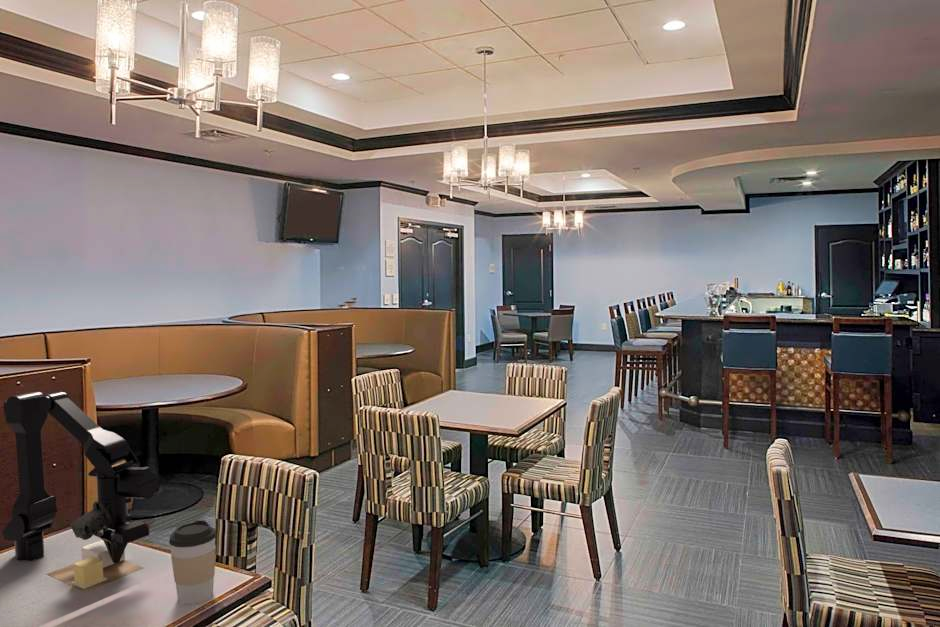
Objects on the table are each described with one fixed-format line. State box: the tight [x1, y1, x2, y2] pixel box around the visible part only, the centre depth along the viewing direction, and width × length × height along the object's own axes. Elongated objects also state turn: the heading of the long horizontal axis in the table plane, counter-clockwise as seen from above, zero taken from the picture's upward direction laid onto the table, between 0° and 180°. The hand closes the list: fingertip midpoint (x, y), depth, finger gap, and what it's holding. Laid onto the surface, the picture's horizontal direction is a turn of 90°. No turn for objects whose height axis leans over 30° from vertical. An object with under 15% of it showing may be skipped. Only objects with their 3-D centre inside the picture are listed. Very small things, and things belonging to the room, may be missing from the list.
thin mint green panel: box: [71, 577, 107, 589], centre depth 144 cm, size 5×5×1 cm
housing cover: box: [81, 539, 126, 568], centre depth 153 cm, size 7×6×4 cm
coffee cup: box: [168, 519, 217, 605], centre depth 138 cm, size 9×9×15 cm
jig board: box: [46, 560, 144, 593], centre depth 149 cm, size 16×13×3 cm
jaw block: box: [73, 557, 104, 586], centre depth 144 cm, size 4×4×4 cm
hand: (116, 562), depth 151 cm, fingers closed
